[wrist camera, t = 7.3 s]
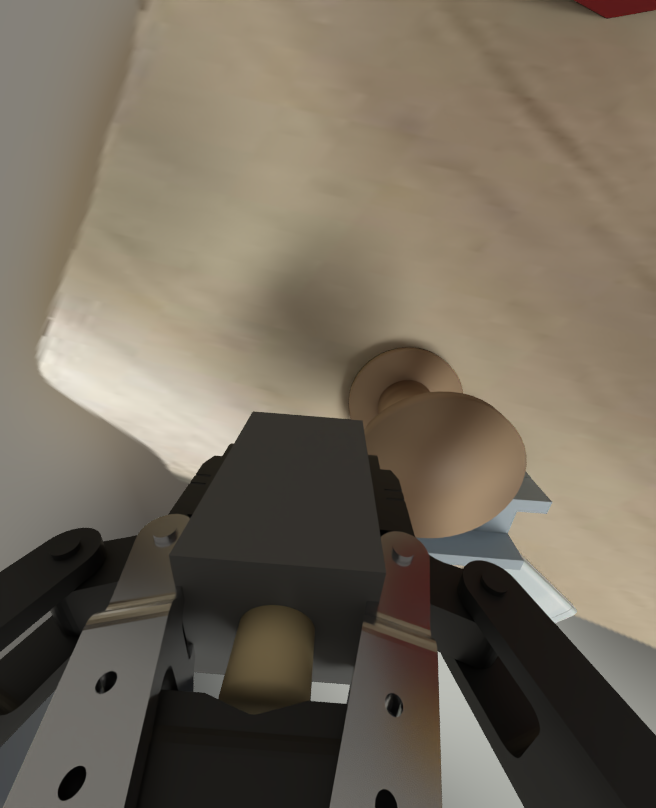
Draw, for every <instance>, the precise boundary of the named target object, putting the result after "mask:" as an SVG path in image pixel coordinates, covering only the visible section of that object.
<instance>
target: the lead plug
mask: <svg viewBox="0 0 656 808" xmlns="http://www.w3.org/2000/svg"><path fill="white" fill-rule="evenodd" d="M169 559H170V564H171V569H172V574H173V578H174V583H175V586H182V588H183V593H184V598H185V603H184V609H183V619H182V622H183V626H184V631H185V636H186V641H187V643H192V644H194V650H195V663H194V672H197V673H210V674H223V675H225V676H224V680H223V684H222V687H221V691H220V694H219V700H221V701H223V702H225V703H227V704H229V705H231V706H233V707H235V708H238V709H240V710H242V711H244V712H246V713H248V714H254V715H255V714H260V713H264V712H268V711H271V710H275V709H279V708H283V707H286V706H290V705H294V704H298V703H301V702H305V701H310V699H311V684H312V682H324V683H337V684H349V685H350V683H351V677H352V672H353V667H354V662H355V657H356V654H357V649H358V644H359V638H360V633H361V628H362V623H363V617H364V612H365V607H366V602H367V601H376V602H380V597H381V593H382V589H383V584H384V580H385V576H386V568H385V562H384V556H383V549H382V543H381V536H380V530H379V523H378V517H377V510H376V504H375V498H374V491H373V485H372V478H371V472H370V465H369V459H368V452H367V446H366V440H365V433H364V427H363V420H350V419H338V418H326V417H314V416H301V415H289V414H277V413H264V412H252V414H251V416H250V417H249V419H248V421H247V423H246V424H245V426H244V428H243V429H242V431H241V433H240V435H239V436H238V438H237V440H236V441H235V443H234V445H233V446H232V448H231V450H230V452H229V453H228V455H227V457H226V458H225V460H224V462H223V464H222V465H221V467H220V469H219V470H218V472H217V474H216V475H215V477H214V479H213V481H212V482H211V484H210V486H209V487H208V489H207V491H206V493H205V494H204V496H203V498H202V499H201V501H200V503H199V504H198V506H197V508H196V510H195V511H194V513H193V515H192V516H191V518H190V520H189V522H188V523H187V525H186V527H185V528H184V530H183V532H182V533H181V535H180V537H179V539H178V540H177V542H176V544H175V545H174V547H173V549H172V551H171V552H170V554H169Z"/></svg>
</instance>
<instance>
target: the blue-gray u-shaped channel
mask: <svg viewBox="0 0 656 808" xmlns="http://www.w3.org/2000/svg"><path fill="white" fill-rule="evenodd" d="M551 504H552V501H551V500H550V499H549V498H548V497H547V496H546V495H545V493H544V492H543V491H542V490H541V489H540V488H539V487H538V485H537V484H536V483H535V482H534V481H533V480H532V479H531V477H530V476H529V475H528V473H527V472H526V471H525V476H524V479H523V482H522V485H521V487H520V489H519V491H518V492H517V494H516V495H515V497H514V498H513V500H512V501H511V502H510V503H509V505H508V506H507V507H506V508H505V509H504V510H503V511H502V512H500V513H499V514H498V515H497V516H496V517H494V518H493V519H491V520H490V521H488V522H487V523H485V524H483V525H481V526H479V527H477V528H475V529H473V530H471V531H468V532H465V533H462V534H458V535H454V536H449V537H443V538H417V537H416V538H417V539H418V540H419V541H420V542H421V543H422V544H423V545H424V546H425V548H426V549H427V551H428V554H429V555H431V556H432V557H434V558H435V559H437V560H439V561H442V562H444V563H447V564H451V565H463V566H466V564H468V563H469V562H471V561H475V560H483V561H488V562H491V563H493V564H496V565H498V566H499V567H501V568H503V569H512V570H520V569H521V567H522V565H523V563H524V560H523V558H522V556H521V555H520V553H519V551H518V550H517V548H516V546H515V545H514V543H513V542H512V540H511V538H510V537H509V535H508V531H509V529H510V527H511V524H512V522H513V519H514V517H515V515H516V512H517V511H518V512H531V513H544V514H547V512H548V510H549V508H550V506H551Z"/></svg>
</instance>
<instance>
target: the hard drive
mask: <svg viewBox="0 0 656 808" xmlns="http://www.w3.org/2000/svg"><path fill="white" fill-rule="evenodd" d="M520 555H521V554H520ZM521 556H522V555H521ZM522 558H523V560H524V563H523V565H522V567H521V569H520V570H512V569H504V570H506V571H507V572H508V573H509V574H511V575H512V576H513V577H514V578H515V580H516V581H517V582H518V583H519V584H520V585H521V586H522V587H523V588H524V590H525V591H526V592H527V593H528V594H529V595H530V596H531V597H532V598H533V600H534V601H535V602H536V603H537V604H538V605H539V606H540V607H541V608H542V610H543V611H544V612H545V613H546V614H547V615H548V616H549V617H550V619H551V620H552V621H553V622H554V623H556V622H559V621H561V620H564V619H566V618H568V617H571V616H573V615H574V614H576V612H577V610H576V609H575V607H574V606H573V604H572V603H571V602H570V601H569V600H568V599H567V598H566V597H565V596H564V595H562V594H561V593H560V592H559V591H558V590H557V589H556V588H555V587H554V586H553V585H552V584H551V583H550V582H549V581H548V580H547V579H546V578H545V577H544V576H543V575H542V574H541V573H540V572H539V571H538V570H537V569H535V568H534V567H533V566H532V565H531V564H530V563H529V562H528V561H527V560H526V559H525V558H524V557H523V556H522Z"/></svg>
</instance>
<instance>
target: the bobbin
mask: <svg viewBox="0 0 656 808" xmlns="http://www.w3.org/2000/svg"><path fill="white" fill-rule="evenodd" d="M349 411H350V417H351V420H363V427H364V433H365V440H366V446H367V452H368V455H377V456H378V461H379V466H380V469H383V470H391V471H392V472H393V473H394V474H395V476H396V477H397V478H398V479H399V481H400V485H401V489H402V492H403V496H404V501H405V503H406V506H407V510H408V513H409V517H410V520H411V524H412V527H413V531H414V535H415V537H417V538H443V537H449V536H454V535H458V534H462V533H465V532H468V531H471V530H473V529H475V528H477V527H479V526H481V525H483V524H485V523H487V522H488V521H490V520H491V519H493V518H494V517H496V516H497V515H498V514H499V513H500V512H502V511H503V510H504V509H505V508H506V507H507V506H508V505H509V503H510V502H511V501H512V500H513V498H514V497H515V495H516V494H517V492H518V491H519V489H520V487H521V485H522V482H523V479H524V476H525V471H526V451H525V446H524V444H523V441H522V439H521V437H520V435H519V433H518V432H517V430H516V429H515V427H514V426H513V425H512V424H511V423H510V422H509V421H508V420H507V419H506V418H505V417H504V416H503V415H502V414H501V413H500V412H499V411H497V410H496V409H495V408H494V407H493V406H491V405H490V404H488V403H486V402H485V401H483V400H481V399H478V398H476V397H473V396H470V395H467V394H463V389H462V385H461V382H460V380H459V378H458V376H457V374H456V373H455V371H454V370H453V369H452V368H451V366H450V365H449V364H448V363H446V362H445V361H444V360H443V359H442V358H441V357H439V356H437V355H436V354H434V353H432V352H430V351H427V350H424V349H420V348H410V347H405V348H397V349H393V350H389V351H386V352H384V353H382V354H380V355H378V356H376V357H374V358H373V359H372V360H370V361H369V362H368V363H367V364H366V365H364V366H363V368H362V369H361V370H360V371H359V373H358V374H357V376H356V377H355V379H354V381H353V383H352V386H351V389H350V394H349Z"/></svg>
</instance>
